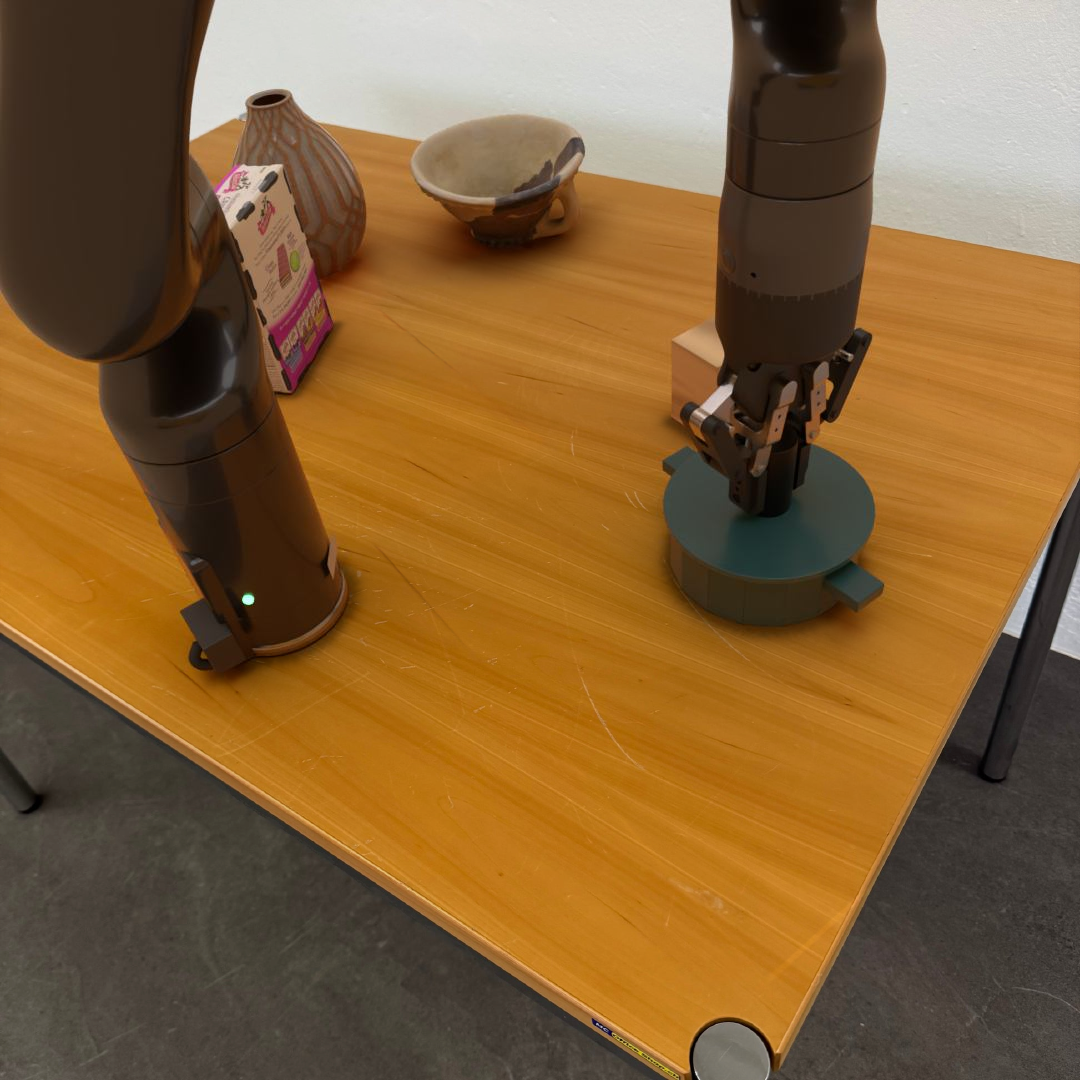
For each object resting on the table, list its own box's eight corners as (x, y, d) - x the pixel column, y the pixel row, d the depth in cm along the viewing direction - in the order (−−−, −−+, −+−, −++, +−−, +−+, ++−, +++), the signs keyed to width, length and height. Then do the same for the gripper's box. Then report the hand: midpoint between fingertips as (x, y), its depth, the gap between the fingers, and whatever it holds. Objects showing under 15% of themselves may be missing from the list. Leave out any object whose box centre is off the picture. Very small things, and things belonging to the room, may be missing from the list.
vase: (344, 303, 95) (295, 129, 83) (234, 292, 99) (170, 124, 87) (398, 239, 104) (360, 71, 91) (294, 231, 107) (244, 69, 95)
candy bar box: (288, 324, 94) (233, 162, 82) (335, 326, 93) (286, 161, 81) (242, 394, 86) (174, 226, 74) (292, 396, 85) (232, 226, 73)
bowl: (393, 260, 100) (372, 173, 94) (487, 186, 110) (474, 102, 104) (533, 294, 93) (521, 202, 86) (620, 211, 103) (616, 122, 96)
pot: (793, 688, 58) (801, 639, 55) (610, 534, 69) (607, 484, 66) (926, 588, 63) (941, 536, 59) (734, 457, 73) (737, 407, 70)
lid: (767, 626, 56) (776, 550, 51) (621, 509, 64) (617, 434, 60) (918, 518, 61) (938, 440, 56) (764, 422, 69) (770, 346, 64)
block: (714, 451, 74) (717, 367, 68) (671, 422, 77) (670, 339, 71) (759, 423, 76) (767, 339, 70) (716, 396, 79) (719, 313, 73)
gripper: (744, 336, 44) (729, 580, 57) (939, 226, 49) (887, 473, 62) (639, 277, 49) (647, 515, 61) (828, 182, 54) (800, 420, 66)
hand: (767, 493), depth 61 cm, fingers closed on lid, 3 cm apart
